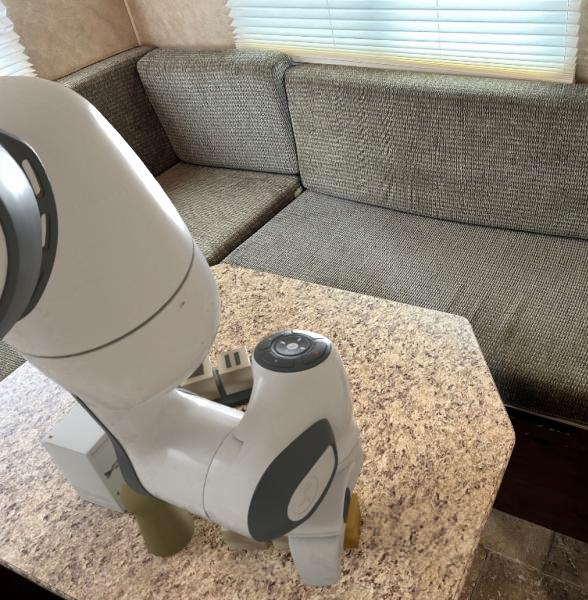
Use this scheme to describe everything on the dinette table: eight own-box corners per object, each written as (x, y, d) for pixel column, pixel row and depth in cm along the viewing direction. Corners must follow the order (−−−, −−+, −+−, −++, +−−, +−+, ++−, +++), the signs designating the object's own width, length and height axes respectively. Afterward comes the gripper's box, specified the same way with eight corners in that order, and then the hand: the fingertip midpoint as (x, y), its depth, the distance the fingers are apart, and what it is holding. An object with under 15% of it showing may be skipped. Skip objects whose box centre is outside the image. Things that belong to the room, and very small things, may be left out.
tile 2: (252, 366, 96) (245, 345, 93) (257, 386, 92) (250, 365, 89) (223, 375, 95) (215, 354, 92) (227, 395, 91) (218, 374, 88)
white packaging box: (124, 515, 78) (84, 456, 70) (80, 499, 80) (36, 440, 72) (160, 469, 83) (126, 408, 75) (118, 455, 86) (81, 395, 78)
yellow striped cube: (361, 513, 76) (356, 492, 73) (358, 548, 72) (353, 527, 69) (324, 513, 76) (318, 493, 73) (320, 548, 72) (313, 528, 70)
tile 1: (217, 376, 94) (209, 355, 92) (220, 397, 91) (212, 376, 88) (187, 385, 94) (178, 364, 91) (189, 406, 90) (180, 385, 87)
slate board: (298, 350, 99) (297, 345, 99) (310, 383, 93) (308, 378, 93) (174, 387, 95) (172, 382, 94) (178, 425, 89) (175, 419, 88)
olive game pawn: (155, 512, 78) (124, 460, 71) (201, 511, 78) (174, 459, 71) (138, 557, 73) (103, 507, 66) (187, 556, 73) (156, 506, 66)
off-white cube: (274, 515, 76) (266, 494, 74) (267, 549, 73) (258, 529, 70) (239, 515, 77) (229, 495, 74) (230, 550, 73) (220, 530, 70)
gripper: (305, 382, 72) (324, 452, 81) (273, 544, 57) (300, 610, 65) (358, 380, 72) (370, 451, 81) (340, 543, 56) (358, 609, 65)
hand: (339, 523), depth 73 cm, fingers closed on yellow striped cube, 4 cm apart
